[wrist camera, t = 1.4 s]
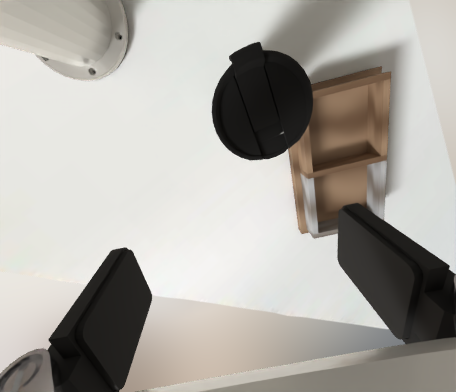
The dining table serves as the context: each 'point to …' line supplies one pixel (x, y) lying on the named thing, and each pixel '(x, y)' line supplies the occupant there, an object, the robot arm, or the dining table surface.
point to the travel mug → (261, 103)
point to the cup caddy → (342, 151)
